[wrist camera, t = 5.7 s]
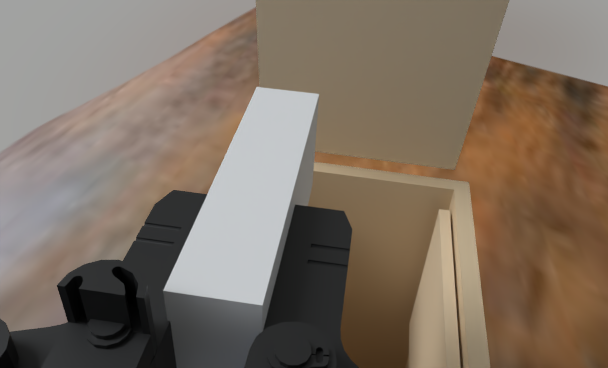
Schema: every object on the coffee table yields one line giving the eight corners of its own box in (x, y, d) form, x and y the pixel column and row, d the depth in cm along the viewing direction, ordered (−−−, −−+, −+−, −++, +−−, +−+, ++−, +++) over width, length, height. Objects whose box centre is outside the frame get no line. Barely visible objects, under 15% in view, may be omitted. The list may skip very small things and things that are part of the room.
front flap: (454, 169, 23) (454, 162, 23) (514, -17, 17) (513, -24, 17) (262, 144, 23) (264, 137, 24) (253, -44, 17) (256, -50, 18)
